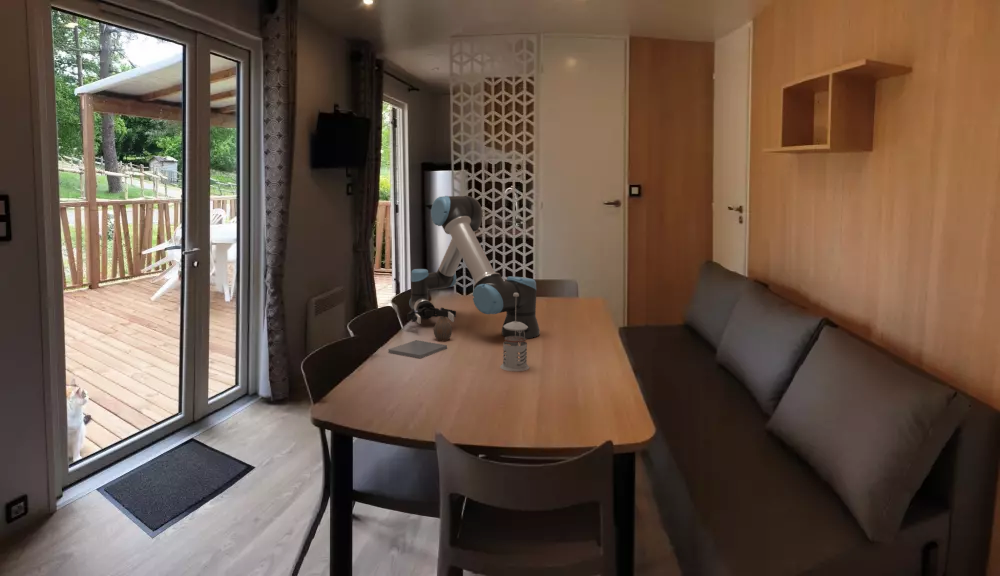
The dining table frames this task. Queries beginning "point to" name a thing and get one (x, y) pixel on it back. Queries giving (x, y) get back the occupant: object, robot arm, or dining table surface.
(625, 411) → the dining table surface
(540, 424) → the dining table surface
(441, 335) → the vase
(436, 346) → the slate tile
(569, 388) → the dining table surface
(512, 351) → the french press
